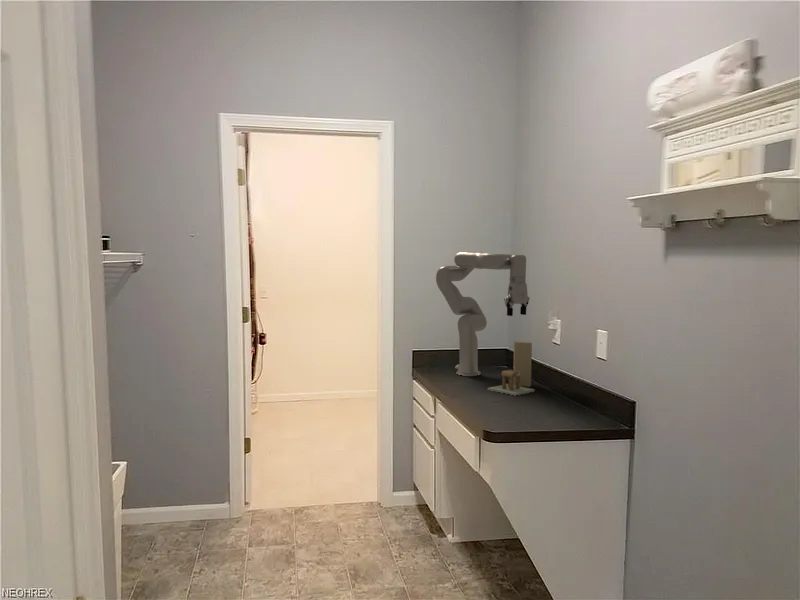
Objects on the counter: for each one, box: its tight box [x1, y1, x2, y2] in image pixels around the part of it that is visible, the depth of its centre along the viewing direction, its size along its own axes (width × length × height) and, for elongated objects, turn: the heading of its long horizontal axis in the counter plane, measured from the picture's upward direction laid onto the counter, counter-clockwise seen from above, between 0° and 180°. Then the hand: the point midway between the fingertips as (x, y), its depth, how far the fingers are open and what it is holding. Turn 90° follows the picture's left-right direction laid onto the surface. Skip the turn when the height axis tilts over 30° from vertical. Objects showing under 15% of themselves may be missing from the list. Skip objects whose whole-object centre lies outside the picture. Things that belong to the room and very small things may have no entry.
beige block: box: [512, 340, 533, 388], centre depth 279 cm, size 8×7×21 cm
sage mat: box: [487, 383, 535, 397], centre depth 267 cm, size 16×14×1 cm
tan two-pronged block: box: [501, 369, 521, 390], centre depth 267 cm, size 6×6×8 cm
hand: (516, 315), depth 285 cm, fingers open, 9 cm apart
